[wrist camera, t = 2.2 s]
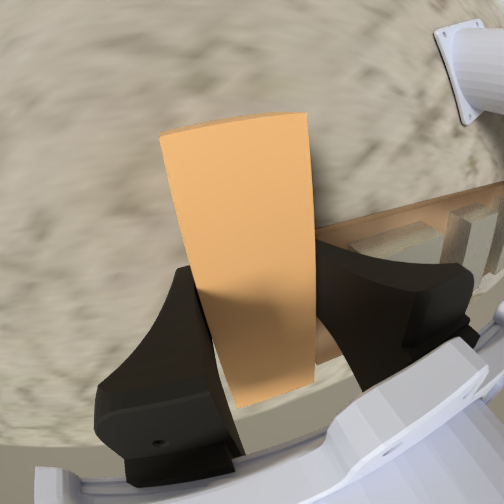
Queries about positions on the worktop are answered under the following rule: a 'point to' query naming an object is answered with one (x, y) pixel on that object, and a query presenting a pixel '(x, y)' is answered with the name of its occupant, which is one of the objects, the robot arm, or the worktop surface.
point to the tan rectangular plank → (250, 244)
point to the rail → (446, 240)
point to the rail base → (425, 211)
